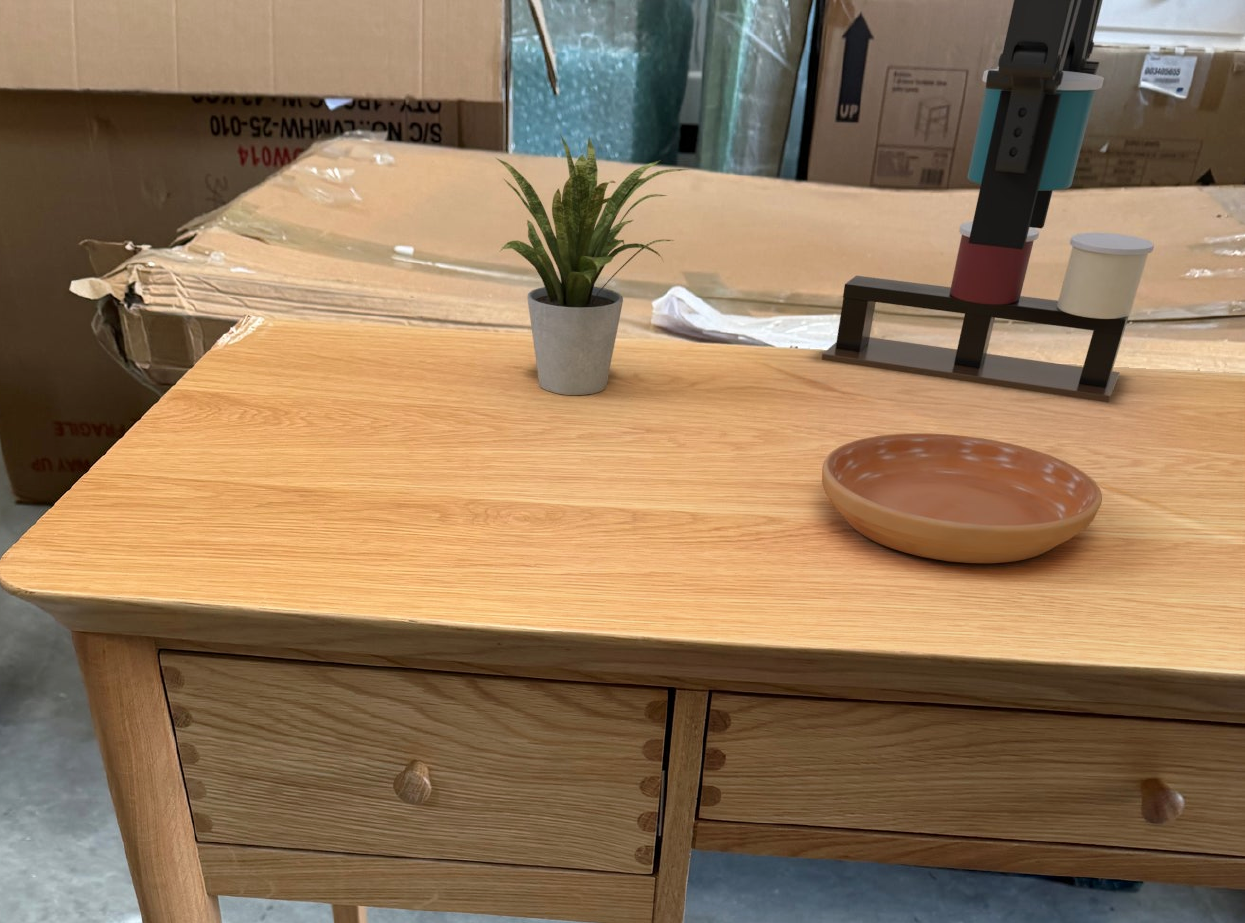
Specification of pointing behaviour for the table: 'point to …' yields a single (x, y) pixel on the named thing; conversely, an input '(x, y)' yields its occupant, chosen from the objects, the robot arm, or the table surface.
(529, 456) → the table surface
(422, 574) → the table surface
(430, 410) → the table surface
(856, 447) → the saucer
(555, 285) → the house plant
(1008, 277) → the burgundy pod
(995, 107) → the teal pod
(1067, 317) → the stand
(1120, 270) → the cup
